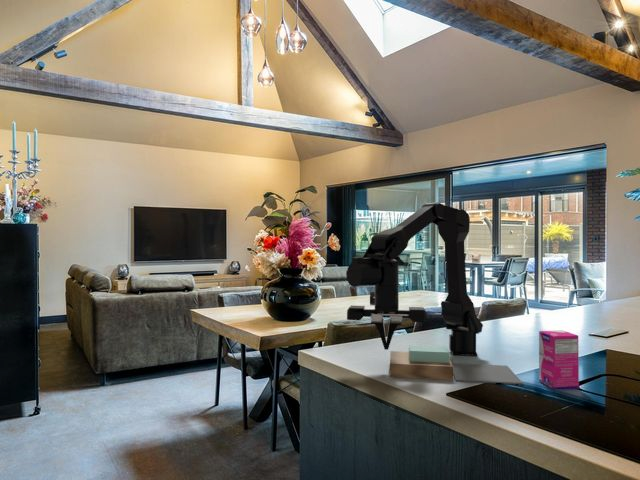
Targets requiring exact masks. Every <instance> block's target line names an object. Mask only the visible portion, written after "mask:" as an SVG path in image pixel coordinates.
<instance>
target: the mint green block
mask: <svg viewBox="0 0 640 480" xmlns="http://www.w3.org/2000/svg"><path fill="white" fill-rule="evenodd" d="M408 352H409V360H410V361H418V362H440V363H449V359H450V350H449V348H448V347H447V346H444V345H443V346H441V345H418V344H417V345H413V344H408Z"/></svg>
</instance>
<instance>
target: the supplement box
mask: <svg viewBox="0 0 640 480" xmlns="http://www.w3.org/2000/svg"><path fill="white" fill-rule="evenodd" d="M579 357H580V355H579V335H578V334H576V333H572V332H568V331H566V330H563V329H557V330H553V329H552V330H538V373H539V374H538V378H539V379H538V380H539V381H538V382H540V383H542V384H544V385H545V386H547V385H548V387H549V386H550V387H549V388H551V387H552V388H553V389H552V388H551V389H552V390H554V389H562V390H579V389H580V379H579V378H580V377H579V375H580V373H579V370H580V369H579V367H580V363H579V359H580V358H579Z"/></svg>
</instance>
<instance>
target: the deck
mask: <svg viewBox="0 0 640 480" xmlns="http://www.w3.org/2000/svg"><path fill="white" fill-rule="evenodd" d="M389 358H390V360H389V361H390V362H389V377H391V378H408V379H424V380H425V379H429V380H447V381H453V380H454V375H453V365H452V361H451V359H450V358H449V363H440V362H418V361H410V360H409V351H394V350H390V356H389Z"/></svg>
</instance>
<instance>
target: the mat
mask: <svg viewBox="0 0 640 480" xmlns="http://www.w3.org/2000/svg"><path fill="white" fill-rule="evenodd" d="M451 363H452V362H451ZM452 365H453V379H455V382H461V383H462V382H463V383H481V384H482V383H483V384H496V383H502V384H501V385H516V384H518V385H519V386H522V385H524V382H523V381H522V380H521V379H520V378H519V377H518V376H517V375H516V374H515V372H513V371H512V369H511V367H509V366H508V365H500V364H481V363H480V364H479V363H477V364H476V363H457V362H453V363H452ZM503 383H504V384H503ZM518 385H517V386H518Z"/></svg>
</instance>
